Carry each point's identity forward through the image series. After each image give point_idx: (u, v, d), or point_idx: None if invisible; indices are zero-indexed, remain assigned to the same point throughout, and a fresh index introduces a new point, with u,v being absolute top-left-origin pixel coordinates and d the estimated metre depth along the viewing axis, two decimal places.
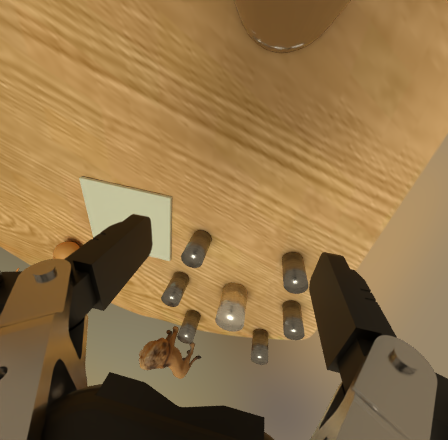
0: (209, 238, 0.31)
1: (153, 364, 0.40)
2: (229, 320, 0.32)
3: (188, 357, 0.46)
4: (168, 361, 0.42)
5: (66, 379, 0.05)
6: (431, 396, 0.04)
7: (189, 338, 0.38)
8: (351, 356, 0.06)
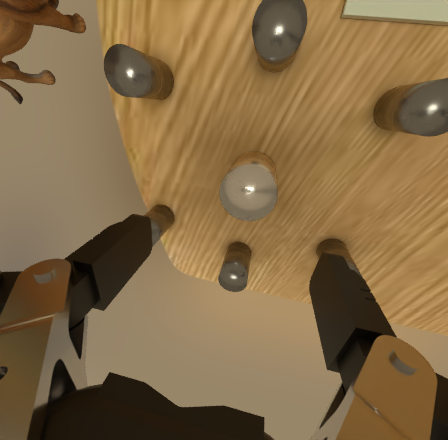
0: None
1: None
2: (254, 195, 0.16)
3: (17, 74, 0.18)
4: None
5: (66, 379, 0.05)
6: (431, 396, 0.04)
7: (131, 86, 0.15)
8: (351, 356, 0.06)
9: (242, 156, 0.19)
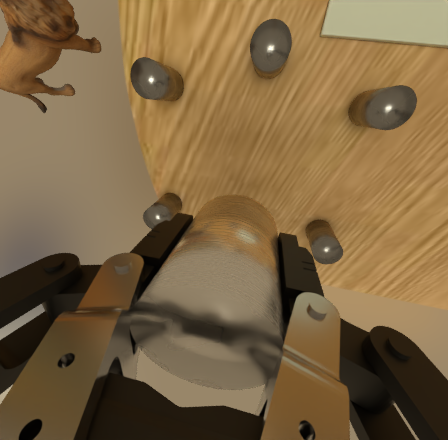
0: None
1: None
2: (220, 348, 0.06)
3: (46, 88, 0.22)
4: (32, 39, 0.17)
5: (119, 374, 0.05)
6: (329, 332, 0.05)
7: (152, 91, 0.18)
8: (285, 313, 0.07)
9: (207, 208, 0.09)
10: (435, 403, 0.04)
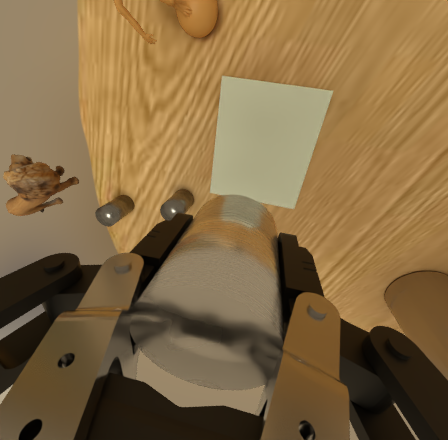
0: None
1: (25, 190, 0.26)
2: (219, 348, 0.06)
3: (43, 207, 0.34)
4: (34, 198, 0.29)
5: (119, 374, 0.05)
6: (329, 332, 0.05)
7: (109, 222, 0.30)
8: (285, 313, 0.07)
9: (207, 208, 0.09)
10: (435, 403, 0.04)
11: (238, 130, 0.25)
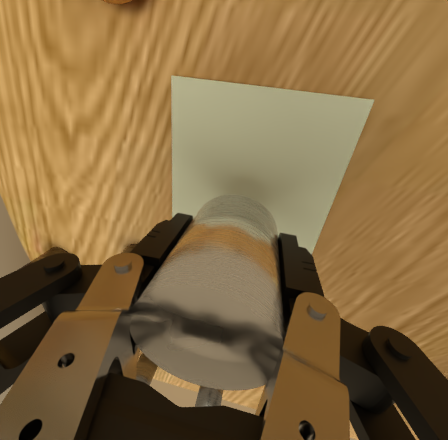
0: None
1: None
2: (220, 349, 0.06)
3: None
4: None
5: (119, 374, 0.05)
6: (329, 332, 0.05)
7: None
8: (285, 313, 0.07)
9: (207, 208, 0.09)
10: (435, 403, 0.04)
11: (207, 166, 0.15)
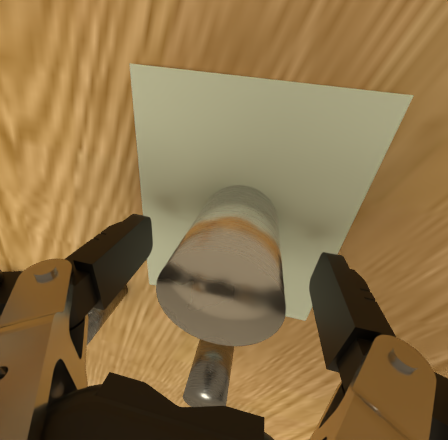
0: None
1: None
2: (232, 306, 0.07)
3: None
4: None
5: (67, 379, 0.05)
6: (430, 396, 0.04)
7: None
8: (350, 356, 0.06)
9: (216, 197, 0.10)
10: None
11: (184, 183, 0.12)
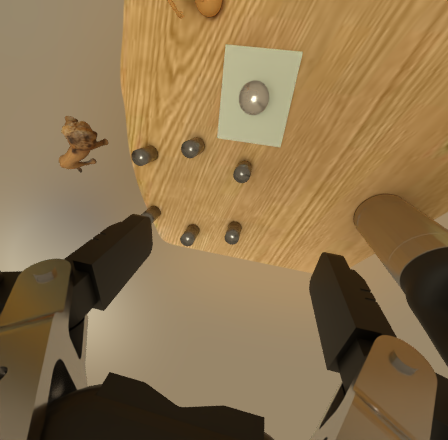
0: None
1: (76, 140, 0.37)
2: (257, 97, 0.30)
3: (83, 164, 0.45)
4: (80, 151, 0.40)
5: (66, 379, 0.05)
6: (431, 396, 0.04)
7: (141, 162, 0.40)
8: (351, 356, 0.06)
9: None
10: None
11: (237, 85, 0.35)
